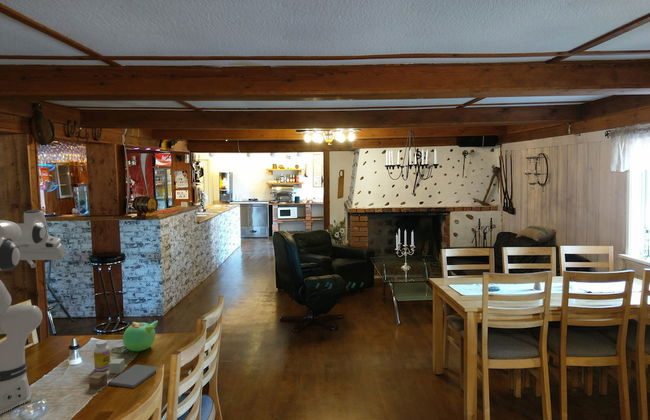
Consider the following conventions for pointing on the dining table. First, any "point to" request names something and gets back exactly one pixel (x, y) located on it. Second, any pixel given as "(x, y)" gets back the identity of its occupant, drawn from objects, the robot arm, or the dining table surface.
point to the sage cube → (116, 366)
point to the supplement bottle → (101, 356)
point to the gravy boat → (139, 336)
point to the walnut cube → (98, 380)
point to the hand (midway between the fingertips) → (44, 267)
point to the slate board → (133, 376)
